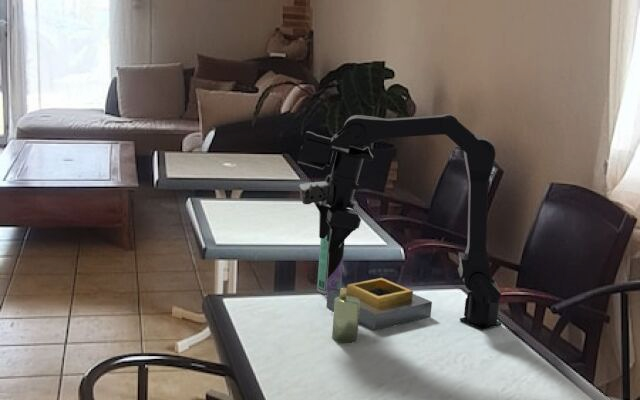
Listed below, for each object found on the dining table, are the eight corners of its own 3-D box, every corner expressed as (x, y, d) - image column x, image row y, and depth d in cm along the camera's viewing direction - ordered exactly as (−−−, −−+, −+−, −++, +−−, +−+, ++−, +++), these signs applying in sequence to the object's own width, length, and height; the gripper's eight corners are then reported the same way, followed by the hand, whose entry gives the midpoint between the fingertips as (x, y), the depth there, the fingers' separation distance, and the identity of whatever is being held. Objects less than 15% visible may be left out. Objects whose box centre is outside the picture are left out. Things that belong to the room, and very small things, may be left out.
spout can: (362, 340, 160) (366, 292, 157) (342, 345, 157) (346, 296, 154) (346, 331, 163) (349, 284, 161) (326, 336, 160) (330, 288, 158)
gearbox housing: (430, 317, 175) (432, 292, 173) (375, 330, 165) (377, 305, 164) (375, 292, 188) (376, 269, 187) (320, 303, 179) (322, 279, 177)
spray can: (338, 296, 184) (344, 210, 180) (314, 292, 185) (320, 208, 181) (342, 288, 190) (348, 205, 185) (319, 285, 191) (325, 203, 186)
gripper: (299, 157, 175) (282, 224, 178) (316, 178, 157) (297, 253, 161) (348, 167, 177) (330, 233, 181) (370, 190, 160) (349, 263, 163)
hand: (325, 245), depth 171 cm, fingers open, 9 cm apart
